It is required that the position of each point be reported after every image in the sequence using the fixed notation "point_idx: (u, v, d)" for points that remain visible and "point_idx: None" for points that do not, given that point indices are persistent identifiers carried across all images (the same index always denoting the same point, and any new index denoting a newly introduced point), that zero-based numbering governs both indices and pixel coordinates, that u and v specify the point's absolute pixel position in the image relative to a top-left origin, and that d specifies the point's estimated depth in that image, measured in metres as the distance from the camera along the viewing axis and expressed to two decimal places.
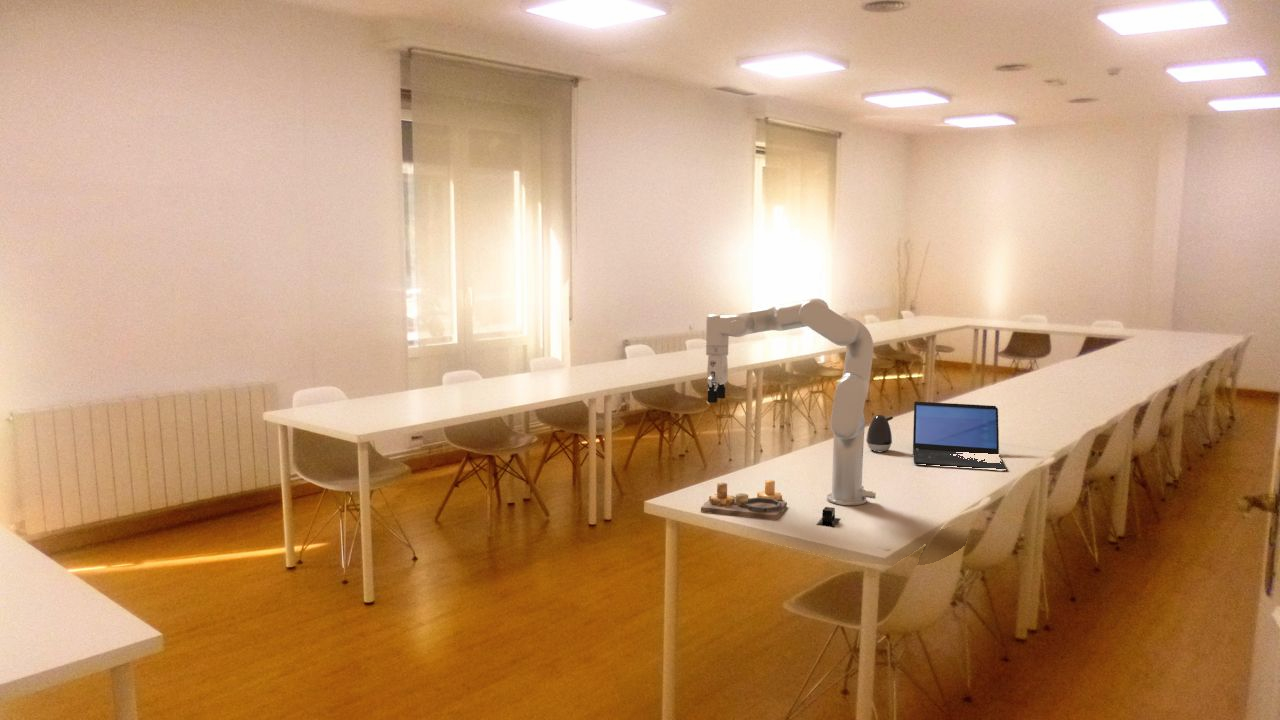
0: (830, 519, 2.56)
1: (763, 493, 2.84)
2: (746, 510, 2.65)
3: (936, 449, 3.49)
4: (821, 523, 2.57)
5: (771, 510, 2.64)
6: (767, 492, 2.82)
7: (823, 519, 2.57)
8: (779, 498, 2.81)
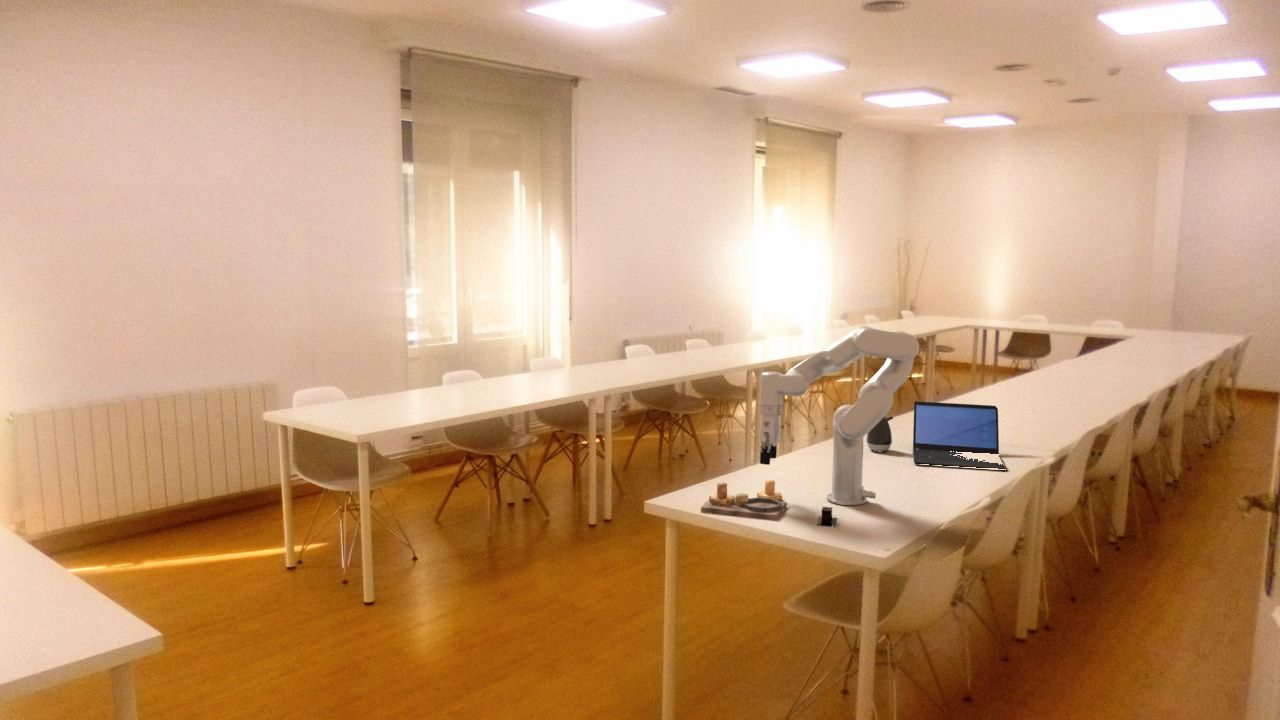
0: (829, 519, 2.57)
1: (763, 493, 2.84)
2: (746, 510, 2.65)
3: (936, 449, 3.49)
4: (821, 523, 2.56)
5: (771, 510, 2.64)
6: (767, 492, 2.82)
7: (822, 519, 2.57)
8: (779, 498, 2.81)
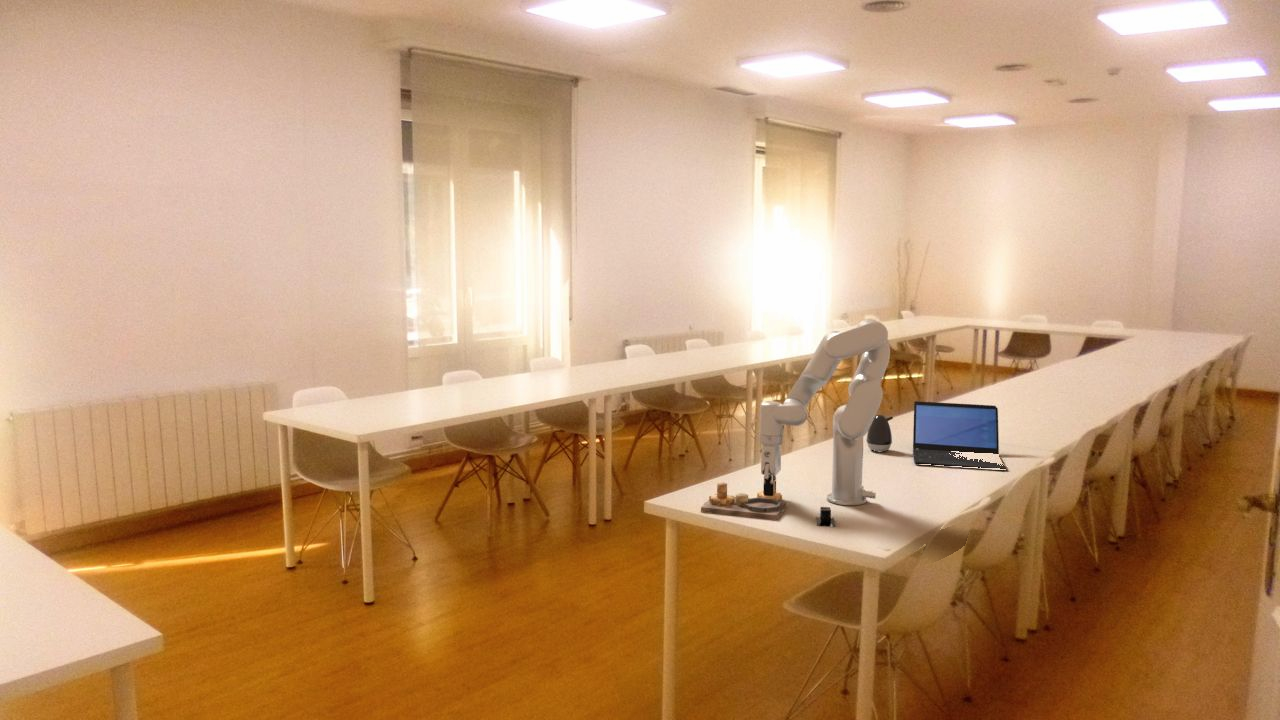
0: (829, 519, 2.57)
1: None
2: (746, 510, 2.65)
3: (936, 449, 3.49)
4: (821, 523, 2.56)
5: (771, 510, 2.64)
6: None
7: (822, 519, 2.57)
8: (779, 498, 2.81)
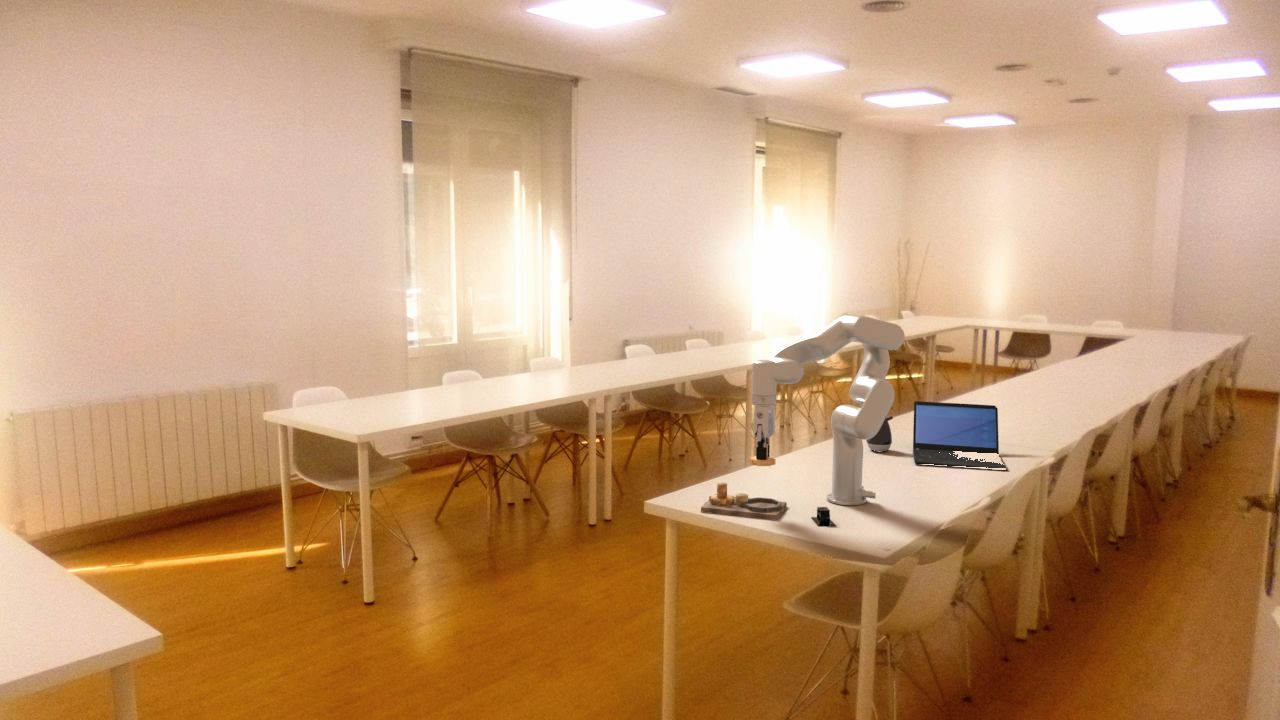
0: (828, 519, 2.57)
1: (755, 457, 2.68)
2: (746, 510, 2.65)
3: (936, 449, 3.49)
4: (821, 524, 2.56)
5: (771, 510, 2.64)
6: None
7: (821, 520, 2.57)
8: (772, 462, 2.66)
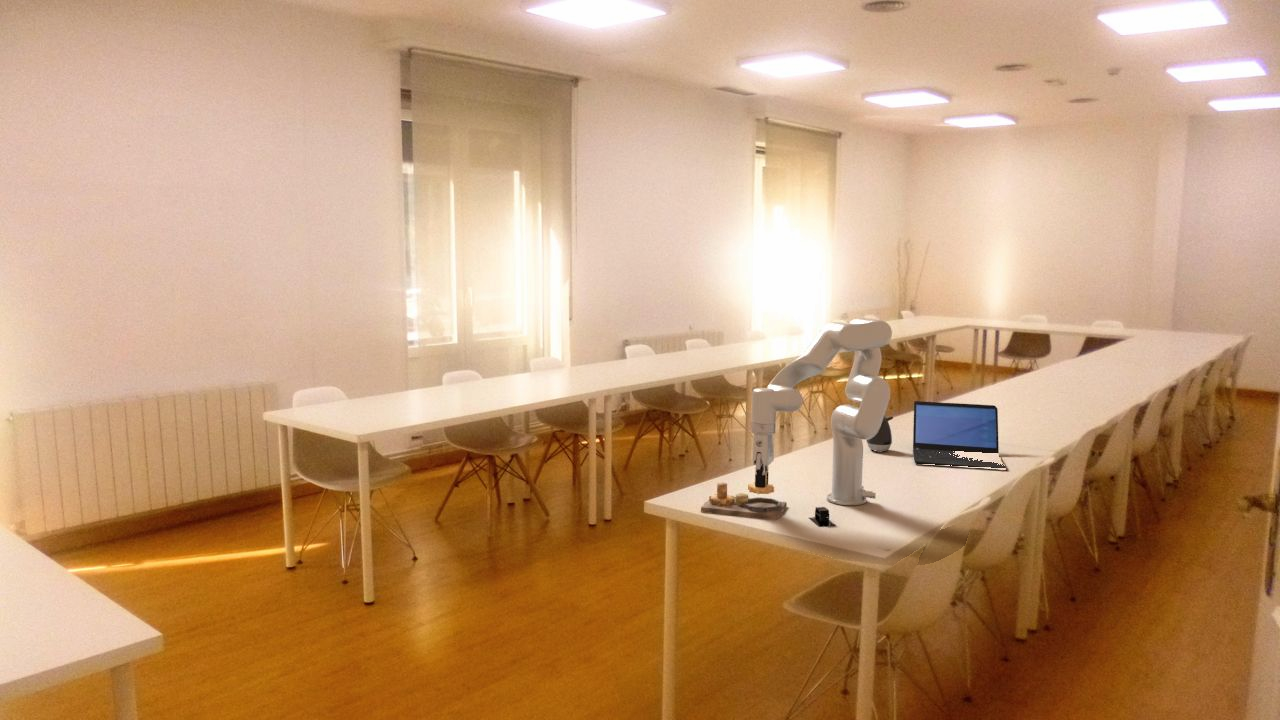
0: (827, 518, 2.57)
1: (754, 485, 2.69)
2: (746, 510, 2.65)
3: (936, 448, 3.50)
4: (821, 524, 2.56)
5: (771, 510, 2.64)
6: None
7: (821, 520, 2.57)
8: (771, 490, 2.67)
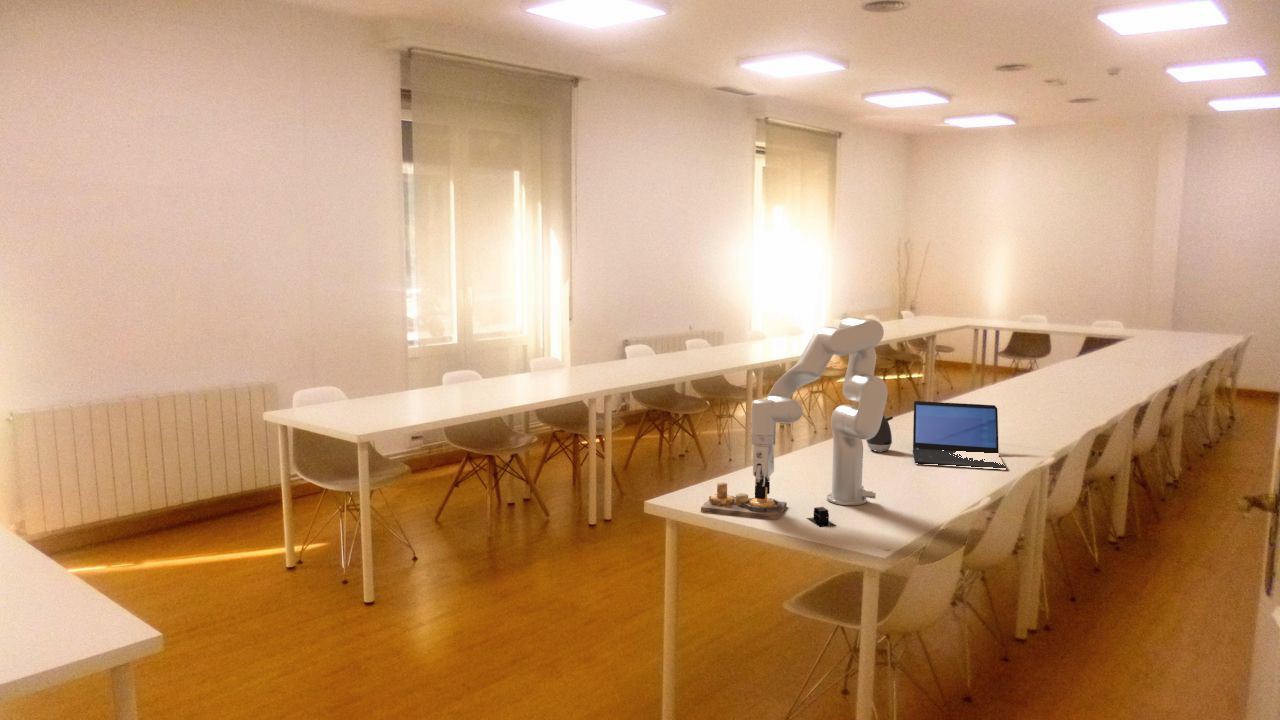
0: (827, 518, 2.57)
1: (755, 500, 2.70)
2: (746, 510, 2.65)
3: (936, 448, 3.50)
4: (821, 524, 2.55)
5: (771, 510, 2.64)
6: (759, 499, 2.68)
7: (821, 520, 2.57)
8: (772, 506, 2.67)
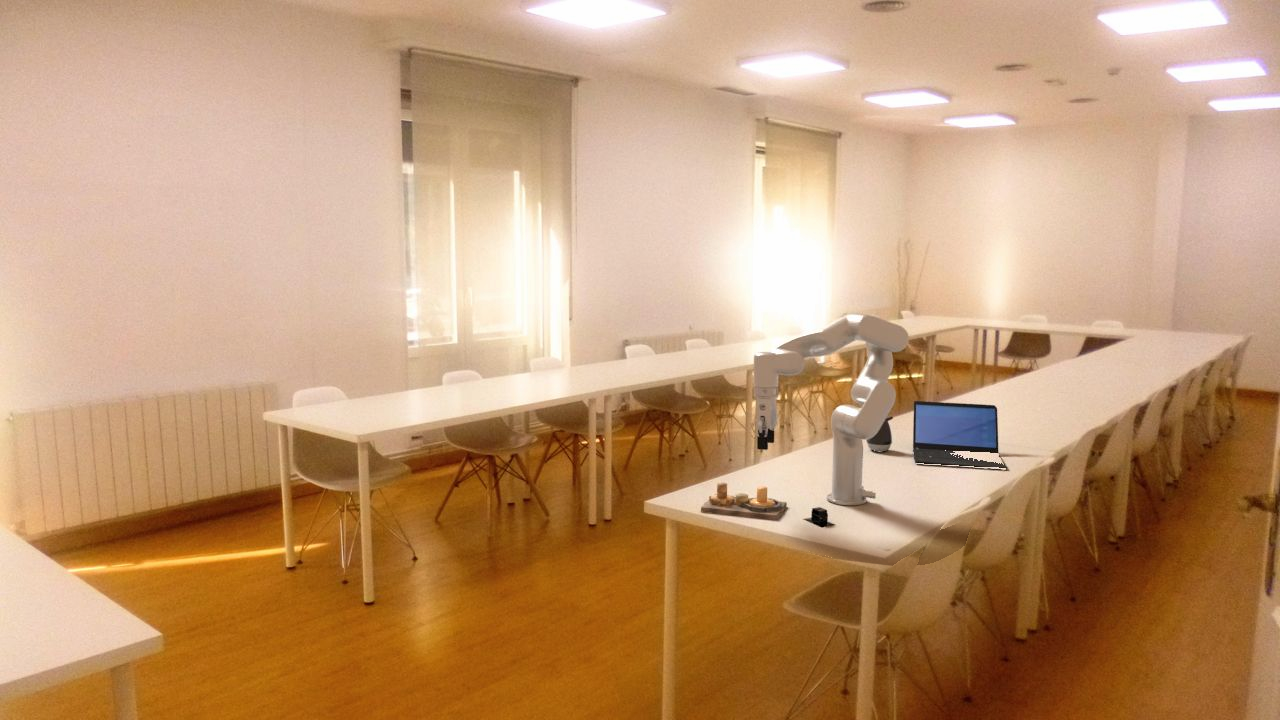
0: (826, 518, 2.57)
1: (755, 500, 2.70)
2: (746, 510, 2.65)
3: (936, 448, 3.50)
4: (822, 524, 2.55)
5: (771, 510, 2.64)
6: (759, 499, 2.68)
7: (821, 520, 2.56)
8: (772, 506, 2.67)
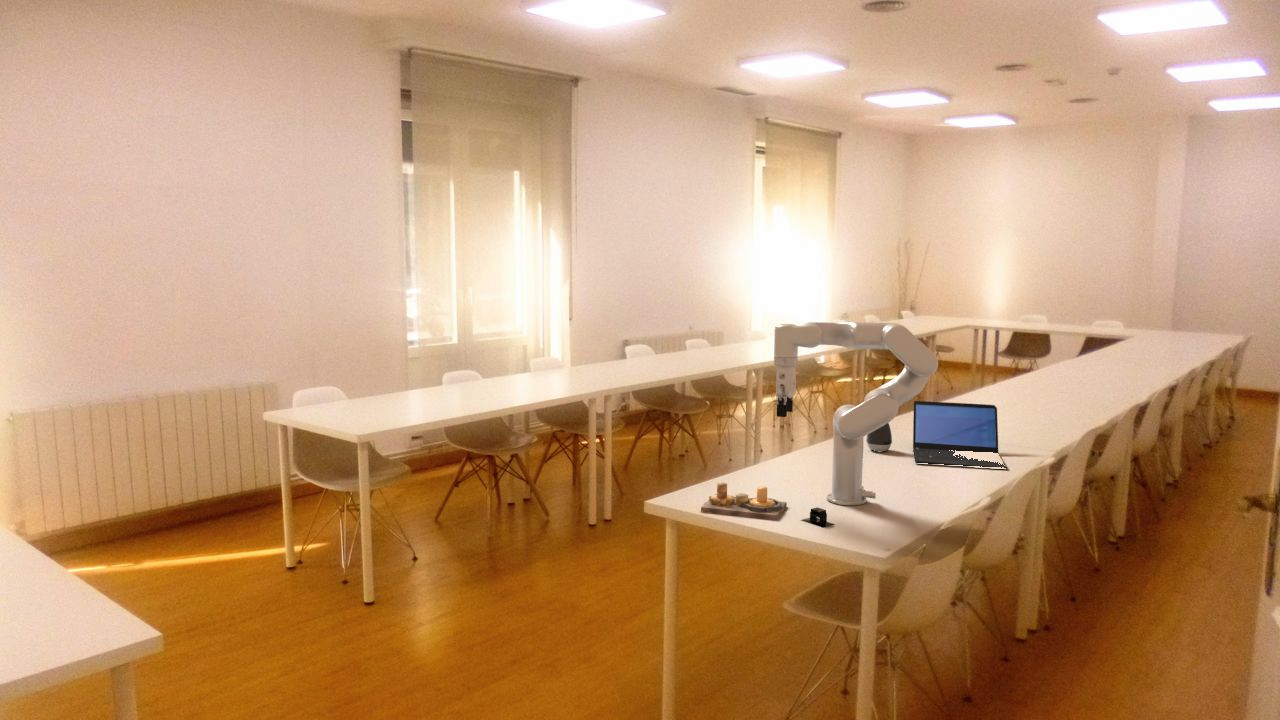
0: (825, 518, 2.57)
1: (755, 500, 2.70)
2: (746, 510, 2.65)
3: (936, 448, 3.50)
4: (823, 525, 2.55)
5: (771, 510, 2.64)
6: (759, 499, 2.68)
7: (821, 521, 2.56)
8: (772, 506, 2.67)
